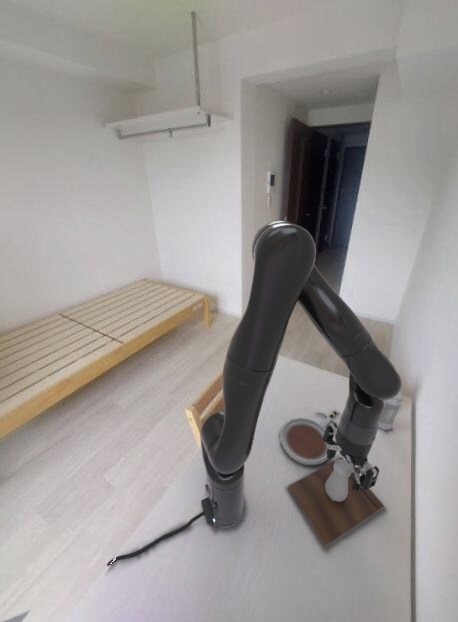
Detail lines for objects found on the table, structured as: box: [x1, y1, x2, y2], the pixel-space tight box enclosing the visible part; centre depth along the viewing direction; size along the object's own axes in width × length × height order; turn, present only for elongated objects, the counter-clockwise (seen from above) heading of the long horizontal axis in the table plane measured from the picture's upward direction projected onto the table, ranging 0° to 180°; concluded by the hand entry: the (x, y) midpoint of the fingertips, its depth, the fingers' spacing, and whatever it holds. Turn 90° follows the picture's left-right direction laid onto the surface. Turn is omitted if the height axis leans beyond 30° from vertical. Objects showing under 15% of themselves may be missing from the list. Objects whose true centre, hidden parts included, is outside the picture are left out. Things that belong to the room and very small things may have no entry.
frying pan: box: [279, 409, 340, 466], centre depth 92 cm, size 17×3×28 cm
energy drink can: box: [378, 391, 403, 431], centre depth 92 cm, size 6×6×15 cm
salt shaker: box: [325, 458, 352, 502], centre depth 71 cm, size 6×6×13 cm
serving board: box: [287, 457, 385, 549], centre depth 74 cm, size 20×15×2 cm
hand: (342, 472), depth 68 cm, fingers open, 8 cm apart
